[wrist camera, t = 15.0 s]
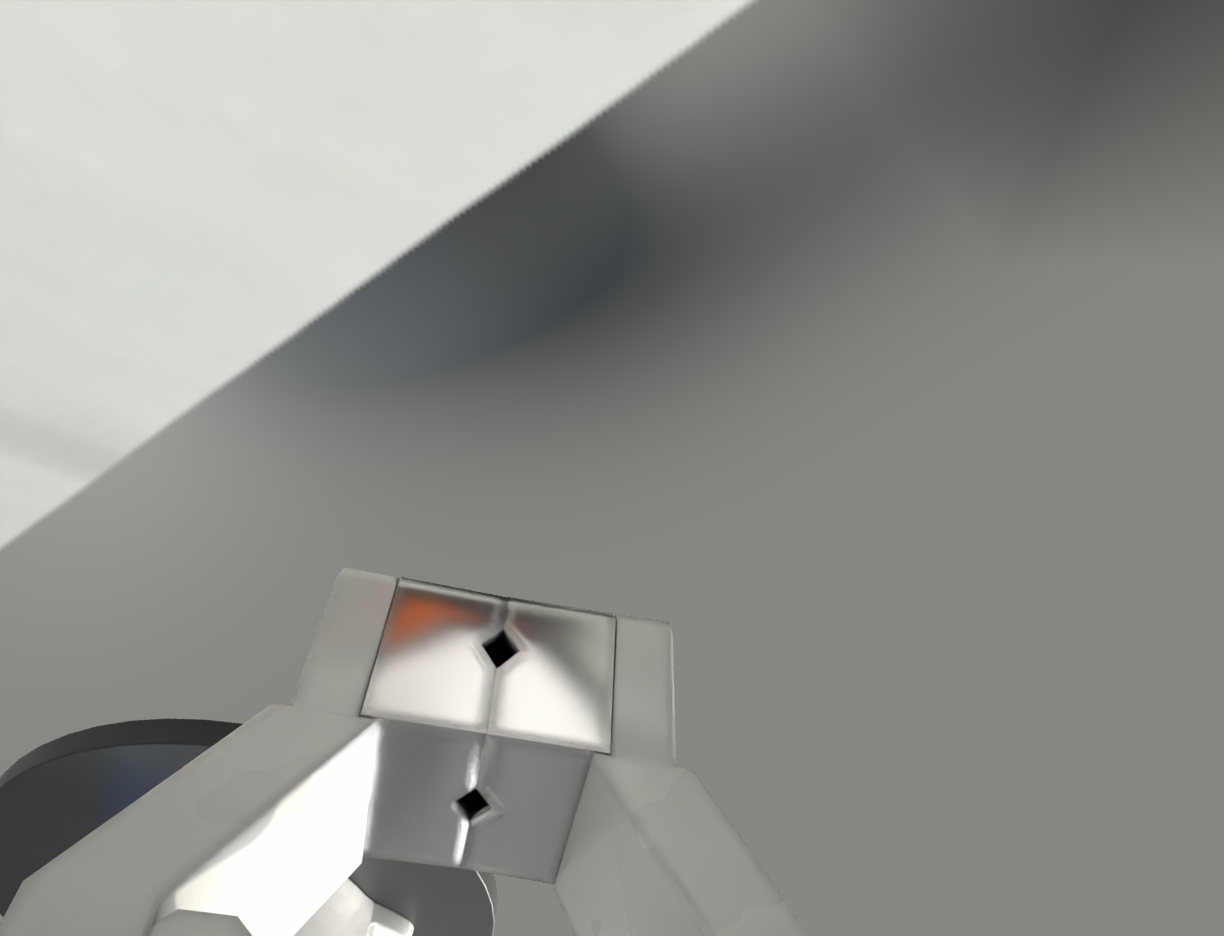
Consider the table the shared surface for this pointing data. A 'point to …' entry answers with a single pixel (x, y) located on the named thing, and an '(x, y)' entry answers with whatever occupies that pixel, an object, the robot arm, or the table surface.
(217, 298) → the table surface
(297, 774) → the robot arm
